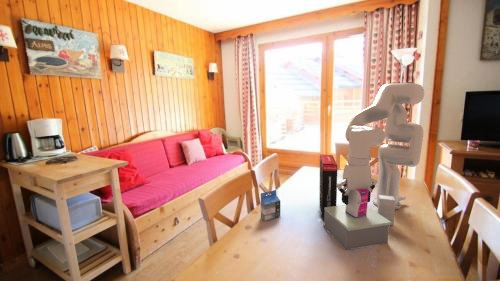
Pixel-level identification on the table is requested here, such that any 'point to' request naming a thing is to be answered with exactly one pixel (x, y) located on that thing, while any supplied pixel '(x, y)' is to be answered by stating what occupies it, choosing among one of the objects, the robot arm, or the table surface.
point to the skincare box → (386, 207)
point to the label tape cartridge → (270, 205)
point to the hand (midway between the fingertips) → (355, 202)
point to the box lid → (356, 223)
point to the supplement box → (357, 203)
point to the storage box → (355, 234)
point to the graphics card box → (327, 182)
